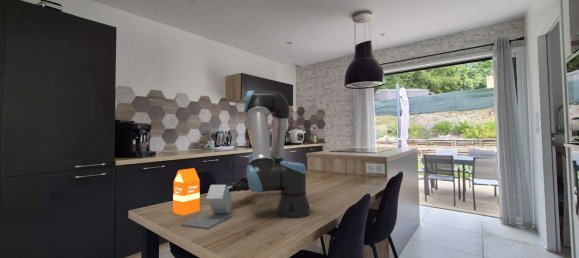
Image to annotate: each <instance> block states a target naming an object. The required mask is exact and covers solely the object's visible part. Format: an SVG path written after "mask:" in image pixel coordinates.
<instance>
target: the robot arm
mask: <svg viewBox="0 0 579 258" xmlns="http://www.w3.org/2000/svg"><path fill="white" fill-rule="evenodd" d="M245 94H246V95H245V99H244V100H245V101H244V113H245V114H246V115H247V116H248V118H250V128H251V129H250V130H251V132H250V133H251V147H252V148H251V149H252V151H251V152H252V153H251V154H249V155H248V165H247V166H246V176H243V177H240V179H239V180H238V181H236V182H235V183H234V182H233V181H231V182H229V183H228V184H225V185H226V186H227V188H228V190H229V192H230V194H231V193H233V192H238V193H239V192H241V191H243V192H246V191H249V190H250V191H251V192H253V193H264V192H280V197H279V201H278V204H277V207H276V214H277V215H278V216H281V217H283V218H289V219H290V218H291V219H292V218H293V219H295V218H297V219H298V218H303V217H307V216H308V215H310V214H311V207H310V204H309V201H308V198H307V184H306V183H307V182H306V181H307V180H306V178H307V176H306V175H307V170H306V166H305V164H304V163H301V162H294V161H288V160H287V159H286V157H285V156H284V150H285V149H284V148H285V139H286V132H287V130H286V129H287V122H288V119H289V118H290V111H291V110H290V106H289V105H290V104H289V102H288V100H287V98H286V97H285V95H283V94H282V93H281V92H278V91H276V90H255V89H254V90H253V89H252V90H247V91H246V93H245ZM270 114H271V115H272V117H273V122H272V124H273V125H272V131H271V132H272V133H271V143H270V129H269V121H268V120H269V118H268V117H270Z"/></svg>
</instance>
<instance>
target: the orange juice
mask: <svg viewBox="0 0 579 258" xmlns="http://www.w3.org/2000/svg"><path fill="white" fill-rule="evenodd" d="M200 181H201V180H200V178H199V176H198V173H197V171H196V169H195V168H194V167H191V168H185V169H178V171H177V172H176V176H175V178H174V180H173V195H172V196H173V197H172V198H173V199H172V200H173V205H172V207H173V208H172V211H173V212H172V213H174V214H177V215H180V216H186V215H189V214H193V213H195V212H199V211H200V198H201V197H200V195H201V194H200V193H201V192H200Z"/></svg>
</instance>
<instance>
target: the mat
mask: <svg viewBox="0 0 579 258" xmlns="http://www.w3.org/2000/svg"><path fill="white" fill-rule="evenodd" d="M230 218H232V215H231V214H215V213H214V212H205V213H202V214H200V215H199V216H198V215H197V216H196V217H194V218H192V219H189V220H187V221H185V222H183V223H181V224H180V227H187V228H195V229H197V228H198V229H203V230H204V229H205V230H210V229H212V228H214V227H216V226H217V225H219V224H220V223H223V222H225V221H226V220H228V219H230Z"/></svg>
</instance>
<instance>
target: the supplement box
mask: <svg viewBox="0 0 579 258" xmlns="http://www.w3.org/2000/svg"><path fill="white" fill-rule="evenodd" d="M226 185H227V184H210V186H209V189H208V191H207V192H208V193H207V194H206V197H205V201H206V202H207V203H208V205H209V206H210V208H211V211H212V213H215V214H225V215H231V214H230V213H231V210H232V205H233V202H234V200H233V197H232V195H231V193H230V192H229V190H228V188H227V186H226Z"/></svg>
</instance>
